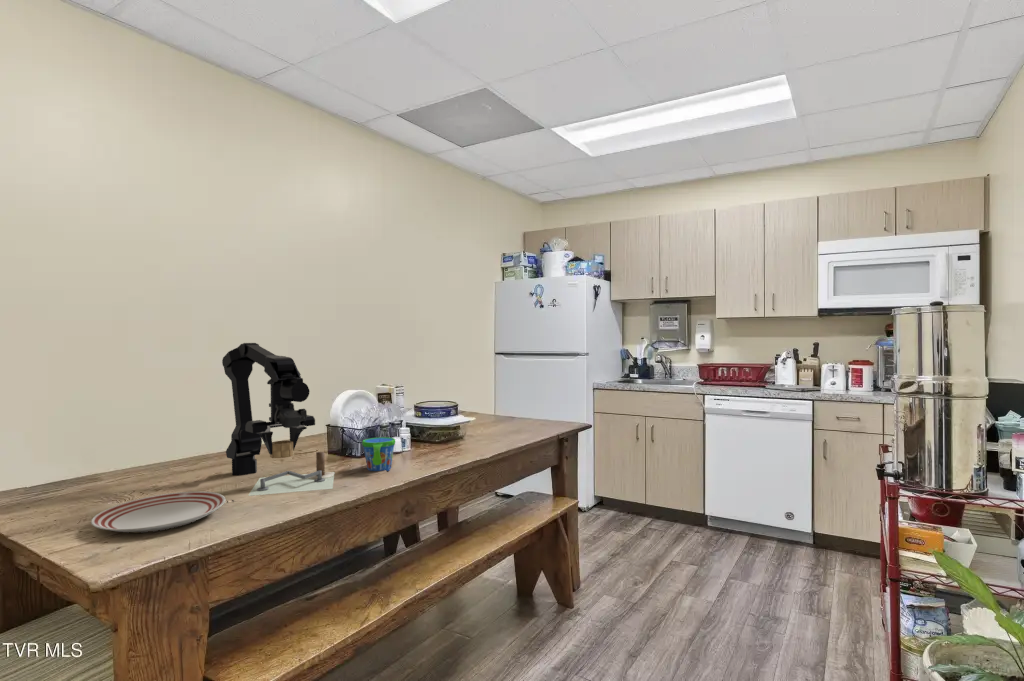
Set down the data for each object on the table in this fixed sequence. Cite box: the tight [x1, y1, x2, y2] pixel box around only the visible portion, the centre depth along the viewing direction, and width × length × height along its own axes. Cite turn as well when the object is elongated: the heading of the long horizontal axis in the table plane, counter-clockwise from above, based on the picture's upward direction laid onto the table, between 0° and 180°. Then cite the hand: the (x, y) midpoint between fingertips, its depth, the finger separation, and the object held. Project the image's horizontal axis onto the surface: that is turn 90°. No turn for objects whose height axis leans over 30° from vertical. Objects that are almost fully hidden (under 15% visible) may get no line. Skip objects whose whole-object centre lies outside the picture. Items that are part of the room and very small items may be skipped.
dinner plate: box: [90, 491, 226, 533], centre depth 135 cm, size 28×27×3 cm
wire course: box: [247, 470, 335, 497], centre depth 165 cm, size 22×21×4 cm
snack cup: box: [361, 436, 396, 472], centre depth 182 cm, size 16×10×10 cm
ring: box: [269, 440, 294, 459], centre depth 164 cm, size 6×6×4 cm
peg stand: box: [308, 451, 335, 480], centre depth 172 cm, size 8×8×7 cm
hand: (281, 452), depth 165 cm, fingers closed on ring, 6 cm apart
